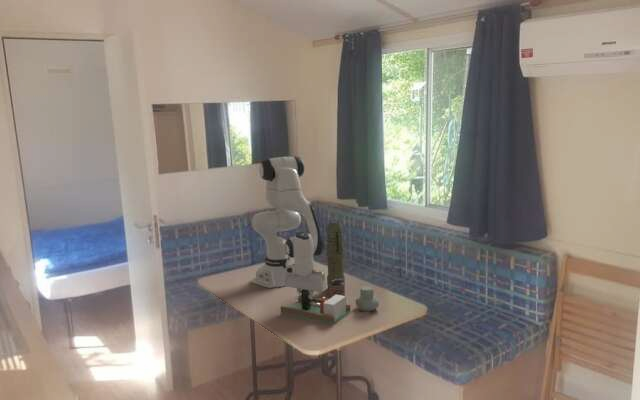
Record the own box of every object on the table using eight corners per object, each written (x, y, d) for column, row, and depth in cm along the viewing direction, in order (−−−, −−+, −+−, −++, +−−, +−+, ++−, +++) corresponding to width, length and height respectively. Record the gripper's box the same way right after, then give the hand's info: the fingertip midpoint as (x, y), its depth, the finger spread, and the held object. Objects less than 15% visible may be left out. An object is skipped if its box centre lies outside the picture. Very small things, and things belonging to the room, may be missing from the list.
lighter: (330, 301, 244) (329, 281, 242) (328, 299, 247) (327, 279, 245) (346, 299, 246) (345, 279, 244) (344, 296, 249) (343, 277, 248)
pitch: (280, 314, 231) (280, 297, 229) (299, 302, 244) (299, 286, 243) (333, 325, 217) (333, 307, 216) (350, 311, 231) (350, 294, 230)
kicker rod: (300, 309, 232) (299, 290, 230) (306, 305, 236) (305, 287, 234) (323, 314, 226) (322, 294, 224) (328, 310, 230) (328, 291, 229)
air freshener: (353, 306, 237) (353, 285, 235) (369, 303, 240) (369, 283, 238) (364, 315, 227) (363, 293, 225) (380, 311, 230) (380, 290, 228)
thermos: (337, 284, 268) (335, 218, 261) (349, 290, 258) (348, 222, 251) (322, 287, 263) (320, 221, 257) (335, 294, 253) (333, 225, 247)
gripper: (328, 269, 227) (329, 299, 230) (289, 264, 237) (290, 292, 240) (321, 273, 222) (322, 304, 224) (281, 268, 232) (283, 297, 234)
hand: (305, 298), depth 232 cm, fingers closed on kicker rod, 3 cm apart
